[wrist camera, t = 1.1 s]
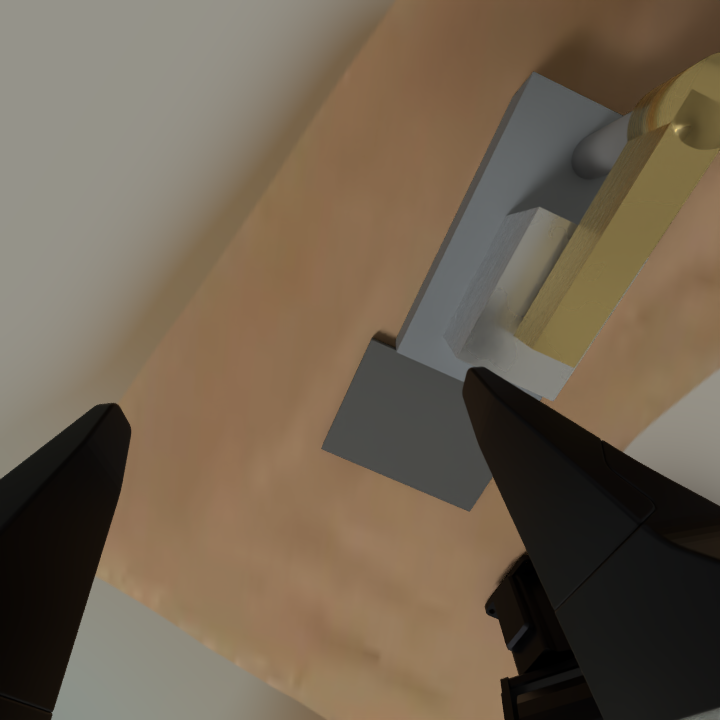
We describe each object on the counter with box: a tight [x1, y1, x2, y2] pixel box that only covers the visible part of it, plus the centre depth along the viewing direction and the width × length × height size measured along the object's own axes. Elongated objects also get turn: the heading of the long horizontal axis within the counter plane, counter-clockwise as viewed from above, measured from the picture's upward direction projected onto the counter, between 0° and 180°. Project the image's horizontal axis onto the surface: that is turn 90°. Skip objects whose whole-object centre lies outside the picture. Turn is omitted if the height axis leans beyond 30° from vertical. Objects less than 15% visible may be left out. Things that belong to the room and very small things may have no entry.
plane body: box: [396, 71, 633, 401], centre depth 19 cm, size 9×15×8 cm, turn 157°
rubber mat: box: [321, 338, 493, 512], centre depth 26 cm, size 12×9×1 cm
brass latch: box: [513, 52, 720, 368], centre depth 13 cm, size 3×10×2 cm, turn 157°
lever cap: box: [443, 207, 648, 401], centre depth 18 cm, size 5×7×4 cm
